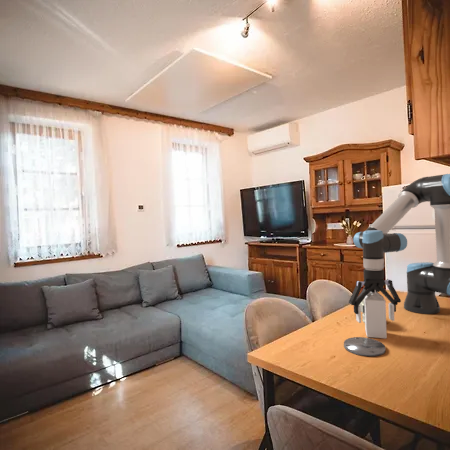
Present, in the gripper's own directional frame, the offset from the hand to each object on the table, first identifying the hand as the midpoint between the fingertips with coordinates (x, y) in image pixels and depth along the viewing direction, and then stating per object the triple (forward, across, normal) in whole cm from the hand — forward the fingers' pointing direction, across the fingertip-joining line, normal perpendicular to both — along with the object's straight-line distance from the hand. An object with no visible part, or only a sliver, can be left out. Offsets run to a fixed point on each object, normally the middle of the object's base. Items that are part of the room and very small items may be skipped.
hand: (375, 320), depth 127 cm
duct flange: (+6, +10, +11) cm, 16 cm away
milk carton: (+6, 0, 0) cm, 6 cm away
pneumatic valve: (+6, -3, -14) cm, 16 cm away
